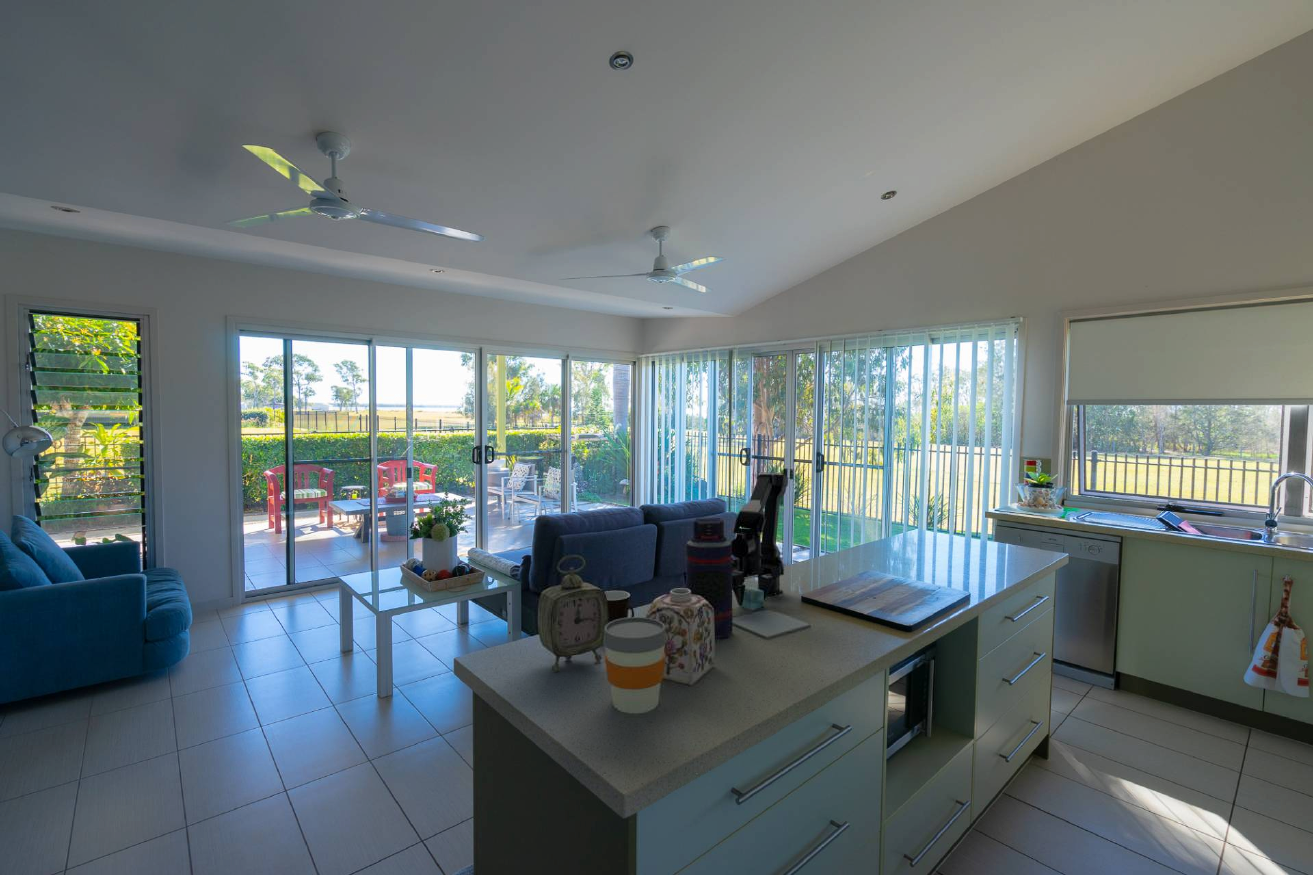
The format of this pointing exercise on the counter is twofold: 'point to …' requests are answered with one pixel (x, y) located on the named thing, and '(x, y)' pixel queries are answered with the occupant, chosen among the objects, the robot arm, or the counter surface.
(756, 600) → the teal block
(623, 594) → the coffee mug
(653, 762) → the counter surface
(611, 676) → the reusable coffee cup
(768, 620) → the slate pad
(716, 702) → the counter surface
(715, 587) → the thermos flask
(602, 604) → the tabletop clock
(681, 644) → the decorative jar
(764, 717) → the counter surface
